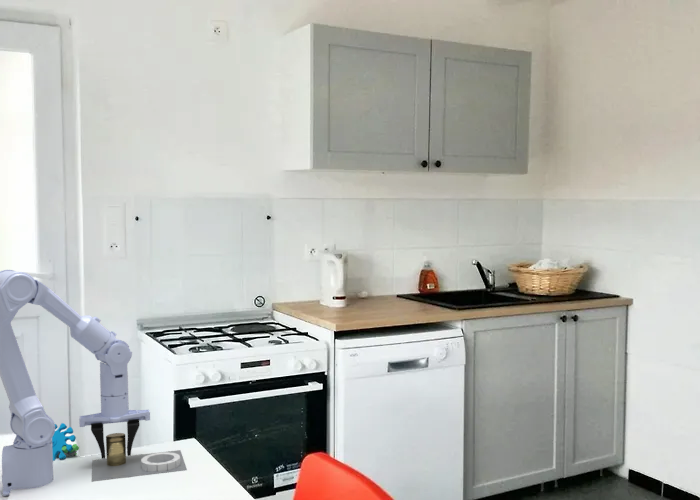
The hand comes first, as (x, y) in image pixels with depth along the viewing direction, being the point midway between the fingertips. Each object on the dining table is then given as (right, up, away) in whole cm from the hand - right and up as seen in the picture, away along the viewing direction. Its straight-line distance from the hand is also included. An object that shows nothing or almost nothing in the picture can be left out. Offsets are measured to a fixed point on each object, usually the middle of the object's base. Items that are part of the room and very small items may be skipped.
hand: (116, 455), depth 160 cm
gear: (-15, -3, +6) cm, 17 cm away
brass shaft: (0, -2, 0) cm, 2 cm away
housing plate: (+5, -3, -1) cm, 6 cm away
